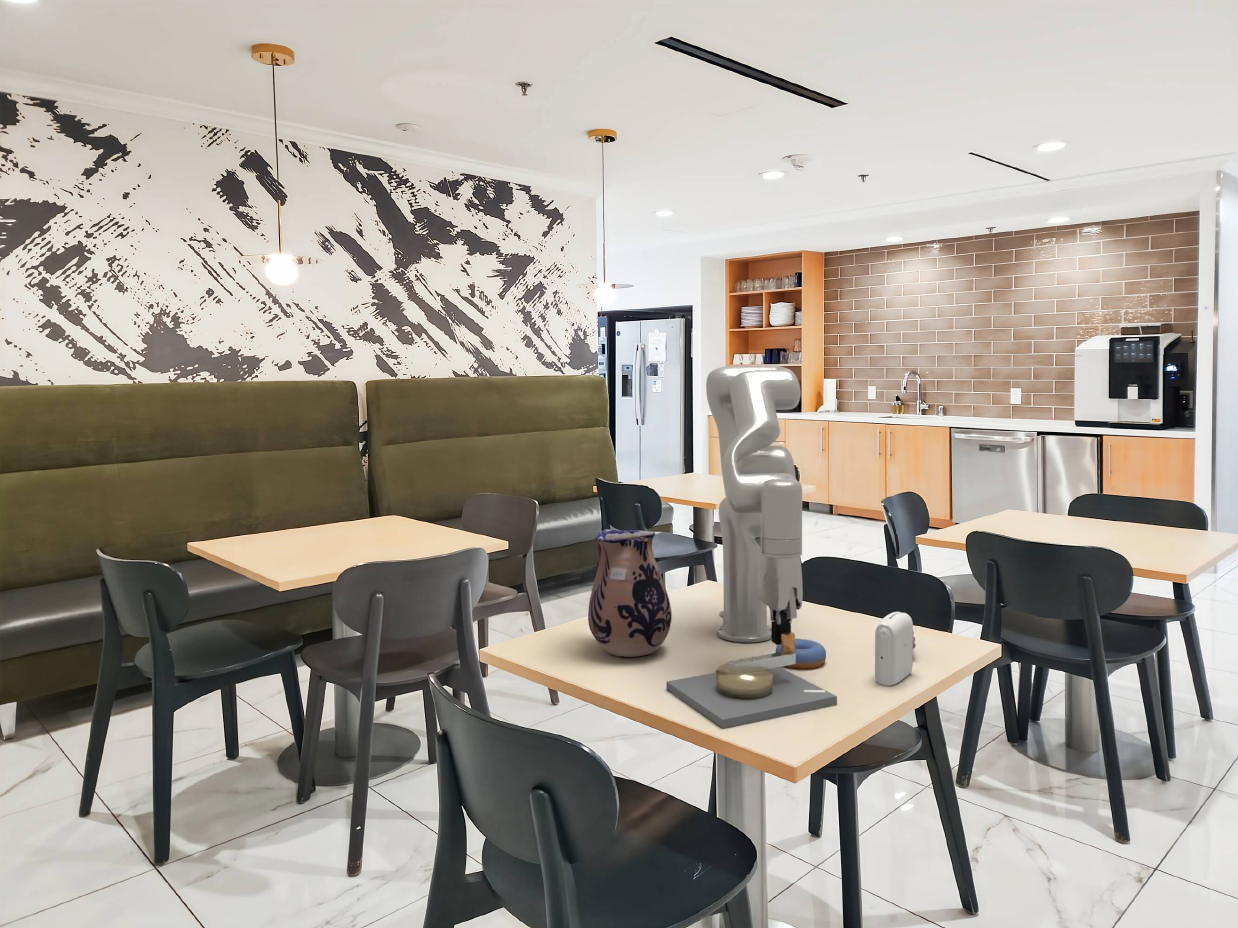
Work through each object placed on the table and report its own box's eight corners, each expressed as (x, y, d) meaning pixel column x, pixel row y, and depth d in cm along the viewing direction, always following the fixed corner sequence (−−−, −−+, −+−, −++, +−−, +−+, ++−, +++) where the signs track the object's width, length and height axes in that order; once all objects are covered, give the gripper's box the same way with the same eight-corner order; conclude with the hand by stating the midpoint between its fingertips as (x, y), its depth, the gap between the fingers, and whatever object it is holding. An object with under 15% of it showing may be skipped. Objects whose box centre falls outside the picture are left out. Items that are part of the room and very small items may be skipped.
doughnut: (795, 672, 165) (796, 648, 165) (765, 660, 174) (766, 638, 174) (836, 669, 169) (837, 646, 169) (804, 657, 178) (805, 635, 178)
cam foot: (736, 701, 146) (735, 653, 146) (705, 683, 156) (705, 638, 155) (810, 686, 153) (810, 640, 152) (777, 669, 162) (777, 626, 161)
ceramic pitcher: (625, 671, 168) (623, 545, 166) (562, 646, 185) (559, 532, 182) (689, 652, 179) (688, 534, 177) (624, 630, 196) (622, 522, 193)
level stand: (666, 689, 158) (666, 680, 158) (771, 670, 167) (771, 661, 167) (722, 728, 140) (722, 718, 140) (836, 704, 149) (837, 694, 149)
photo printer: (893, 688, 157) (894, 621, 155) (871, 683, 159) (872, 618, 158) (915, 672, 164) (916, 609, 163) (893, 668, 167) (894, 606, 166)
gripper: (746, 539, 164) (746, 633, 166) (780, 555, 150) (779, 657, 152) (782, 537, 166) (782, 629, 168) (819, 552, 152) (818, 653, 154)
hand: (781, 642), depth 160 cm, fingers closed
